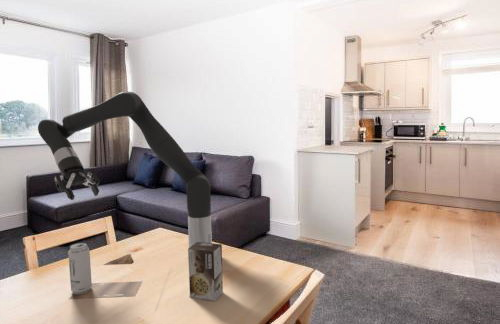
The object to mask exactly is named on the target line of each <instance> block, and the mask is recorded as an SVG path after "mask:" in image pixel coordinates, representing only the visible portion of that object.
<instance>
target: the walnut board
mask: <svg viewBox="0 0 500 324" xmlns="http://www.w3.org/2000/svg"><path fill="white" fill-rule="evenodd" d="M142 283H143V280H141V281H138V280H137V281H117V282H112V281H111V282H95V283H94V282H92V287H91V288H90V290H89V291H88V292H86V293H84V294H74V293H73V292H72V294H71V296H70V297H68V300H83V299H85V300H86V299H103V298H105V299H106V298H125V297H136V295H137V294H138V291H139V290H140V287H141V286H142Z"/></svg>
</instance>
